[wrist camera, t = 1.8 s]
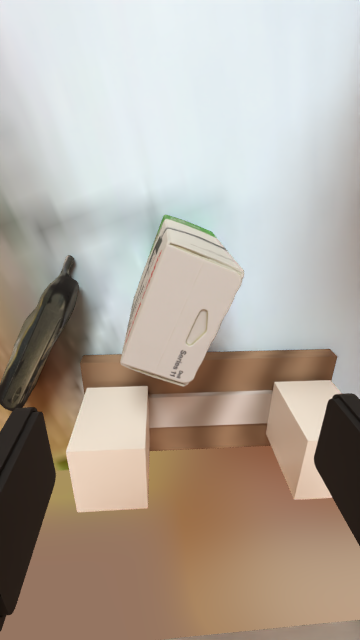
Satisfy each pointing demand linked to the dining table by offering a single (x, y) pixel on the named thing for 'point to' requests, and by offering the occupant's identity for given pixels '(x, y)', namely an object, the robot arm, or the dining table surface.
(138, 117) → the dining table surface
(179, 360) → the ink box
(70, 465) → the mounted modules
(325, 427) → the robot arm
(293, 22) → the dining table surface
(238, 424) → the rail board
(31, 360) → the mobile phone
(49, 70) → the dining table surface
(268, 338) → the dining table surface
